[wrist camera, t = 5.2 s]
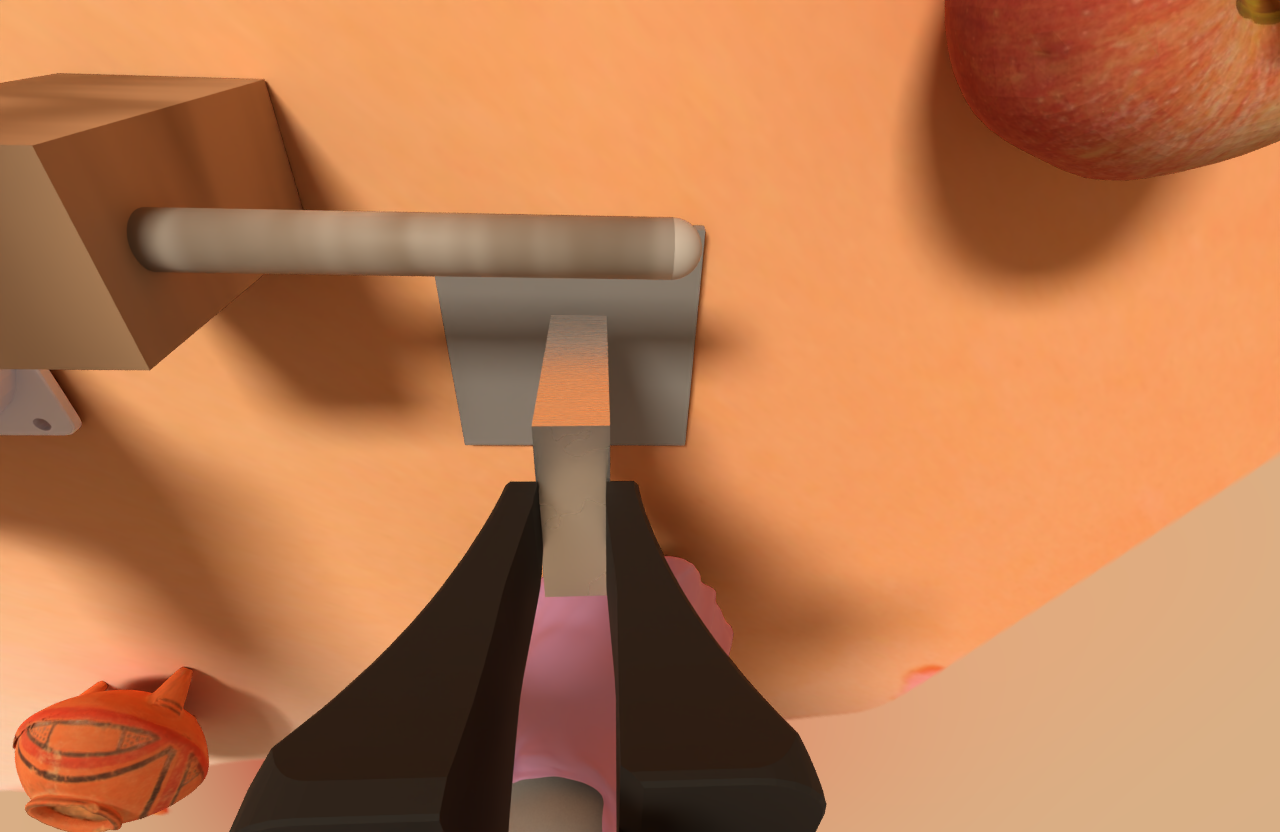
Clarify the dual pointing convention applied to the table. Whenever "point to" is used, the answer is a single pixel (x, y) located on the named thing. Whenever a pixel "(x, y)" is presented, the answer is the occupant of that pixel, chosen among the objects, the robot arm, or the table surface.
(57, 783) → the pot
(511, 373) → the mat
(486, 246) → the stand
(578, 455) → the link
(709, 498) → the table surface
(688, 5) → the table surface
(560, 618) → the toy character
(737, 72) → the table surface
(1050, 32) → the apple
